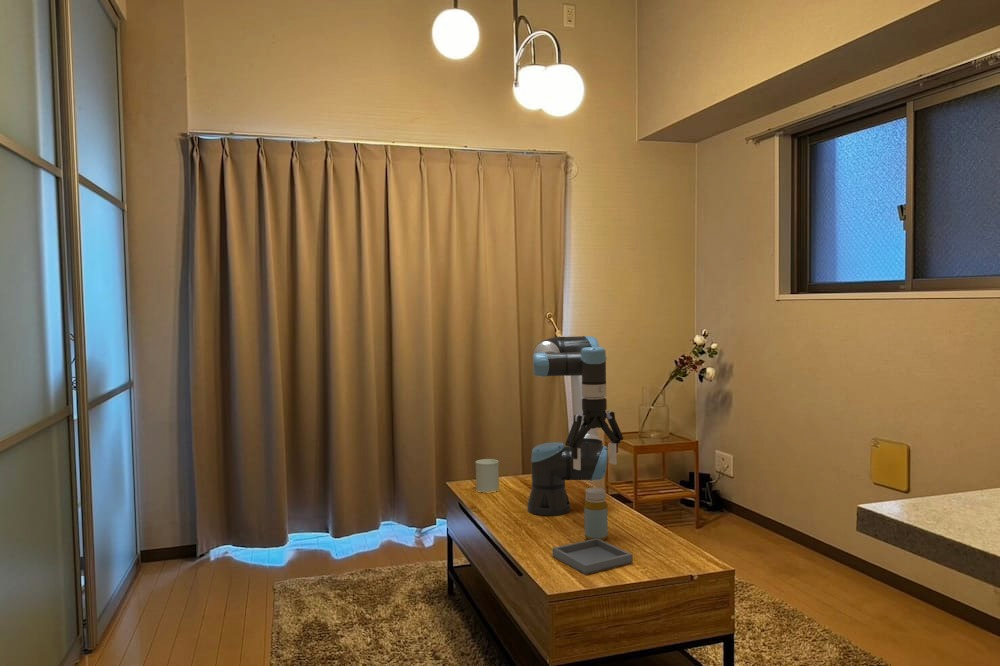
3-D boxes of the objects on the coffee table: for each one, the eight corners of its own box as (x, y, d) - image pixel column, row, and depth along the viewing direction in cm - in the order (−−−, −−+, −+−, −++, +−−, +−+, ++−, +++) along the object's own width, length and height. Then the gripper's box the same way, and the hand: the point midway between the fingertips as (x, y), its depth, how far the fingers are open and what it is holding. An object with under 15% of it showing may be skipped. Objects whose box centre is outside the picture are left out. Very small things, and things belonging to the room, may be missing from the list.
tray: (552, 556, 197) (552, 548, 197) (597, 546, 205) (597, 538, 204) (585, 575, 183) (585, 565, 183) (632, 563, 190) (632, 554, 190)
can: (499, 493, 266) (498, 462, 265) (475, 493, 266) (475, 463, 265) (499, 487, 275) (498, 457, 275) (476, 487, 275) (475, 457, 274)
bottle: (593, 543, 207) (592, 494, 206) (580, 537, 213) (579, 489, 213) (612, 539, 210) (611, 491, 210) (598, 533, 216) (598, 486, 216)
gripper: (567, 402, 201) (568, 474, 201) (634, 395, 213) (634, 463, 213) (553, 399, 207) (554, 469, 208) (618, 393, 219) (619, 459, 220)
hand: (595, 466), depth 211 cm, fingers open, 13 cm apart
